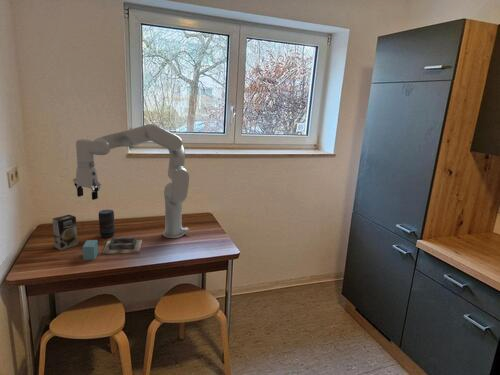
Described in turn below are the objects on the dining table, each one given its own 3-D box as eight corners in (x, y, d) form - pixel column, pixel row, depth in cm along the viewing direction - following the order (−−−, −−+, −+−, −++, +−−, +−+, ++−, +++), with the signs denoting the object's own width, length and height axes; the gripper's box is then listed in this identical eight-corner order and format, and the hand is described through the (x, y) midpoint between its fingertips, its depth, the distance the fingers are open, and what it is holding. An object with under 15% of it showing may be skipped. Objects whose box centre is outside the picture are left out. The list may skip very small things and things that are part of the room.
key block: (98, 252, 170) (97, 239, 168) (94, 259, 163) (93, 246, 161) (87, 252, 169) (86, 240, 167) (83, 260, 161) (82, 247, 160)
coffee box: (61, 250, 169) (58, 221, 165) (54, 247, 173) (51, 218, 169) (78, 244, 177) (76, 216, 173) (71, 241, 180) (69, 213, 176)
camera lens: (117, 234, 194) (116, 209, 190) (110, 239, 186) (109, 214, 182) (104, 232, 194) (103, 208, 190) (97, 238, 186) (95, 213, 183)
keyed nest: (142, 241, 186) (142, 235, 185) (139, 252, 172) (139, 246, 172) (108, 242, 182) (107, 236, 181) (102, 253, 169) (102, 247, 168)
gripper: (105, 165, 165) (106, 198, 169) (78, 161, 171) (80, 193, 175) (93, 168, 158) (94, 202, 162) (66, 163, 164) (68, 196, 168)
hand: (87, 197), depth 169 cm, fingers open, 9 cm apart
